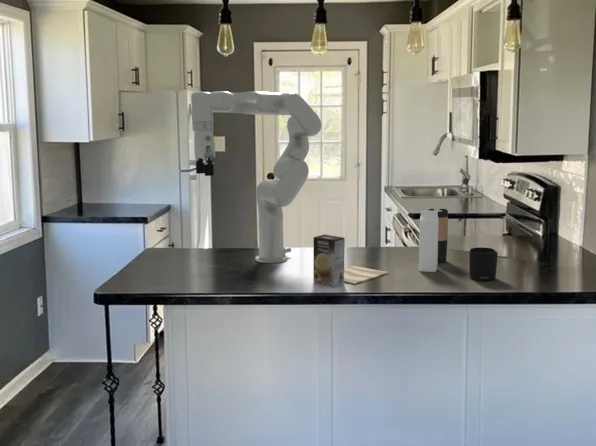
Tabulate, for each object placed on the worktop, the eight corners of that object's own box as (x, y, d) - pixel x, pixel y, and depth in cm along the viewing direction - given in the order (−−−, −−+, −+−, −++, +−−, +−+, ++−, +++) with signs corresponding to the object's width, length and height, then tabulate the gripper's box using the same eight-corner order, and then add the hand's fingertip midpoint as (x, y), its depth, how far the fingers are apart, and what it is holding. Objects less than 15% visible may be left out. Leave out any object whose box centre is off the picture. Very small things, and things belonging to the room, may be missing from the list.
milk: (421, 267, 254) (421, 209, 251) (437, 268, 252) (438, 209, 249) (418, 271, 248) (419, 211, 245) (435, 272, 246) (436, 211, 243)
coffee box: (312, 283, 233) (312, 236, 230) (323, 279, 238) (323, 234, 235) (334, 287, 227) (334, 239, 225) (345, 283, 232) (345, 237, 229)
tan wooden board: (352, 267, 256) (352, 265, 255) (388, 273, 245) (388, 272, 245) (318, 277, 241) (318, 275, 241) (354, 284, 230) (354, 283, 230)
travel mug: (438, 264, 259) (440, 212, 256) (422, 261, 265) (423, 209, 262) (450, 261, 264) (452, 209, 261) (434, 258, 270) (436, 207, 267)
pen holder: (463, 278, 237) (464, 250, 236) (477, 273, 244) (478, 246, 242) (488, 283, 231) (489, 254, 229) (501, 278, 237) (502, 249, 236)
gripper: (221, 127, 239) (222, 175, 242) (205, 126, 255) (207, 172, 258) (200, 127, 236) (202, 177, 239) (185, 126, 252) (187, 173, 254)
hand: (204, 174), depth 248 cm, fingers open, 9 cm apart
